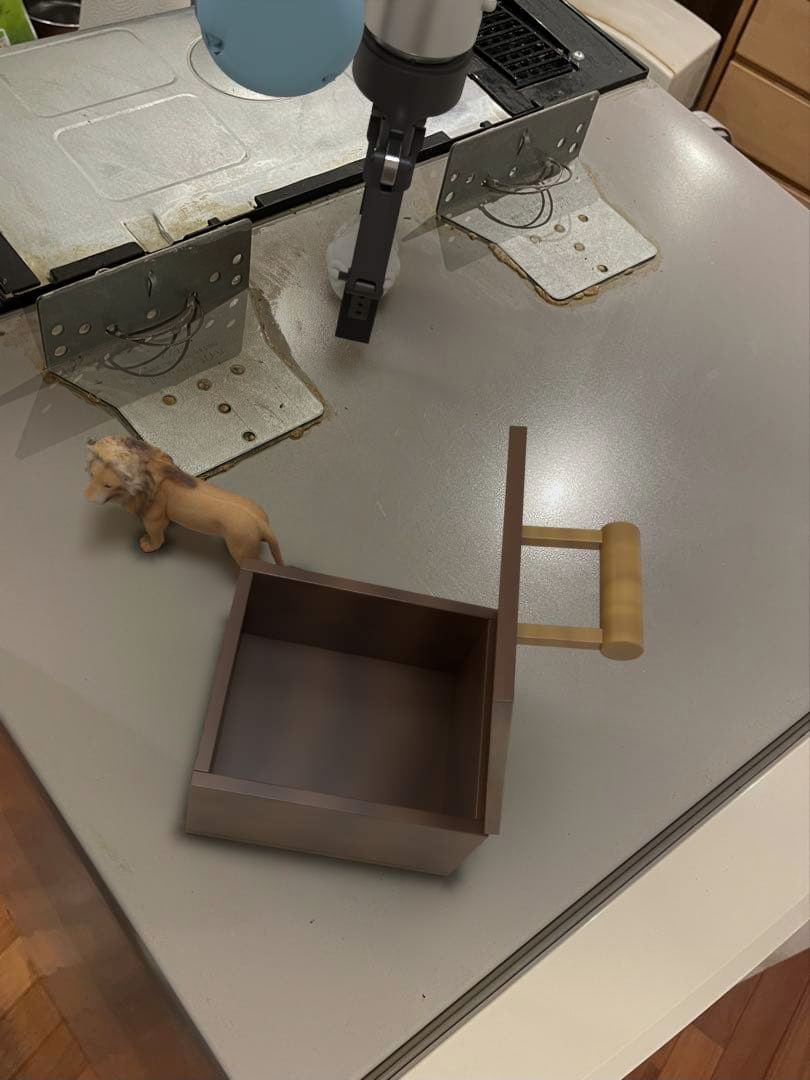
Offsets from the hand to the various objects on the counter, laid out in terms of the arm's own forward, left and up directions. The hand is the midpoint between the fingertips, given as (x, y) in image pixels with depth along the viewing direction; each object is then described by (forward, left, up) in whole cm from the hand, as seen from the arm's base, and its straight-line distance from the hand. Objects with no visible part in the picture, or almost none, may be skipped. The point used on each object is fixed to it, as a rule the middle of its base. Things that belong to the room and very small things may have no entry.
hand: (363, 277), depth 81 cm
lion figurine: (-8, -27, -2) cm, 29 cm away
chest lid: (+9, -39, +15) cm, 43 cm away
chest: (+4, -39, -2) cm, 39 cm away
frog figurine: (0, 0, -2) cm, 2 cm away
